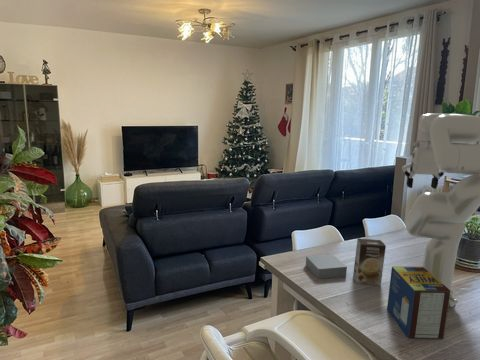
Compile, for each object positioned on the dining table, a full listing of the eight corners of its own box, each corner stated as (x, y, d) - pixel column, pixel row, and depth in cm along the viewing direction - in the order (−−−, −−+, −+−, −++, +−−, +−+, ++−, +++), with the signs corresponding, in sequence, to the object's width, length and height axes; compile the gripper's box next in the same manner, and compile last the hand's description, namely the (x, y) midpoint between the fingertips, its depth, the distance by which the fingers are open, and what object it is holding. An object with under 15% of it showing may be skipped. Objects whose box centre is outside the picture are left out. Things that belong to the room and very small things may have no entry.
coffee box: (356, 284, 131) (360, 244, 128) (352, 276, 138) (356, 238, 134) (381, 286, 131) (386, 245, 127) (376, 278, 137) (381, 239, 134)
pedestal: (346, 276, 138) (346, 266, 137) (317, 278, 135) (318, 269, 134) (331, 263, 149) (332, 254, 148) (305, 265, 146) (306, 256, 146)
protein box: (417, 309, 116) (423, 266, 113) (443, 339, 101) (451, 290, 97) (385, 308, 116) (391, 265, 113) (407, 338, 101) (414, 289, 97)
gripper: (409, 145, 135) (404, 188, 138) (454, 147, 135) (448, 190, 138) (400, 144, 142) (396, 185, 146) (443, 145, 142) (438, 186, 145)
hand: (421, 187), depth 142 cm, fingers open, 9 cm apart
